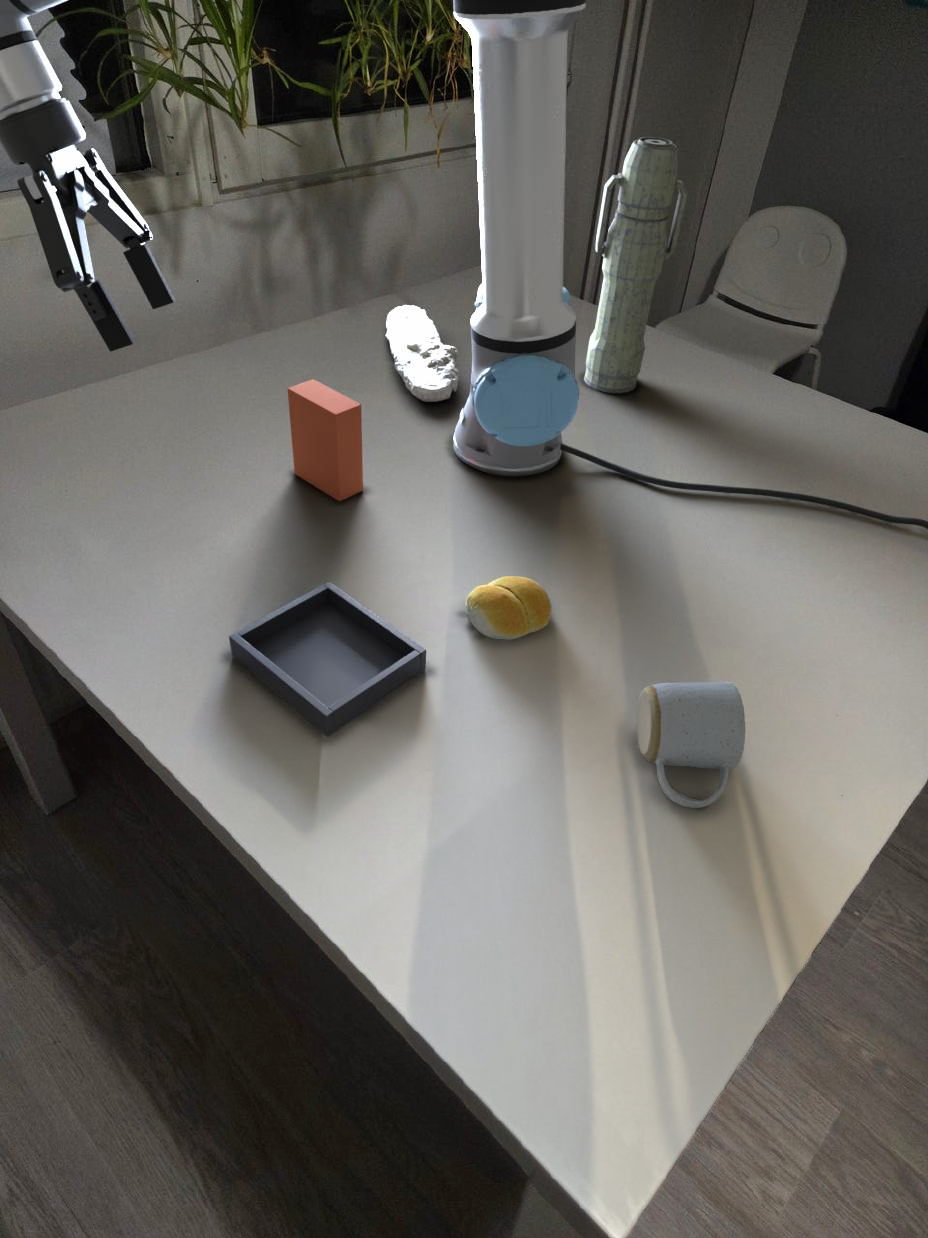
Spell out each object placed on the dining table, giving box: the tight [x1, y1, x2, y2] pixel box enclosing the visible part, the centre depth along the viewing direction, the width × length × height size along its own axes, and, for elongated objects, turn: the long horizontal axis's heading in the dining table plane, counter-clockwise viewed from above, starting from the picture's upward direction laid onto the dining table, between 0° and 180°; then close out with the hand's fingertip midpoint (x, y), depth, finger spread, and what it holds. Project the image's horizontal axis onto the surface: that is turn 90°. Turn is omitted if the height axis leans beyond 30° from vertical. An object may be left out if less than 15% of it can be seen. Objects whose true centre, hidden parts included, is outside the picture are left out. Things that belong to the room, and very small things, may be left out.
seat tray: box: [228, 581, 427, 738], centre depth 81 cm, size 13×15×3 cm
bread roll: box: [465, 576, 552, 640], centre depth 88 cm, size 8×9×4 cm
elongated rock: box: [385, 304, 460, 403], centre depth 136 cm, size 35×5×10 cm
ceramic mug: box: [636, 681, 746, 809], centre depth 72 cm, size 11×8×8 cm
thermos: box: [583, 136, 689, 394], centre depth 124 cm, size 9×12×35 cm
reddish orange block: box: [287, 378, 364, 502], centre depth 103 cm, size 4×9×12 cm, turn 47°
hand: (145, 324), depth 90 cm, fingers open, 13 cm apart
